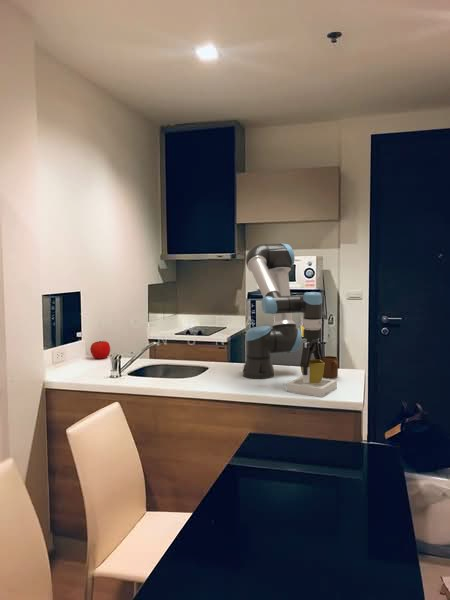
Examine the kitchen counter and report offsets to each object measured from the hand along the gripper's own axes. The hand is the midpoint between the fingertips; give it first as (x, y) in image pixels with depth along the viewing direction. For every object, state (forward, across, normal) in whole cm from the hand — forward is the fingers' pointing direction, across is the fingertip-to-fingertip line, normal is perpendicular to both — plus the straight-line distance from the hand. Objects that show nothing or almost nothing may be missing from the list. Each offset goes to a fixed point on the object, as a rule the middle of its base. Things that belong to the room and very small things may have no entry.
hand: (312, 379), depth 216 cm
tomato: (+5, +2, +131) cm, 131 cm away
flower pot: (+1, 0, 0) cm, 1 cm away
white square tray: (+5, 0, 0) cm, 5 cm away
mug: (+5, +25, +1) cm, 25 cm away
